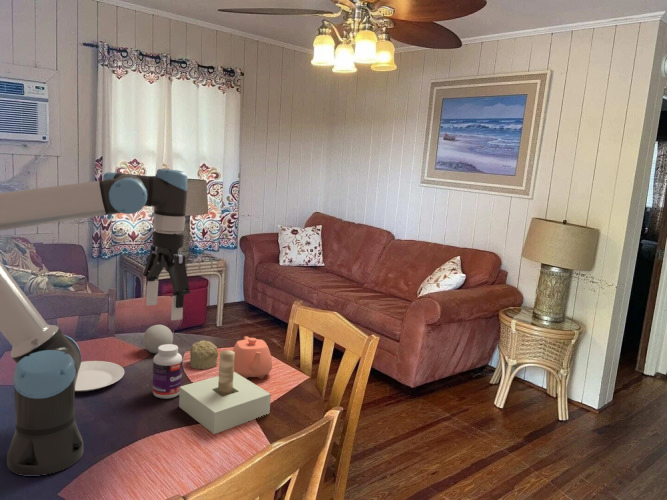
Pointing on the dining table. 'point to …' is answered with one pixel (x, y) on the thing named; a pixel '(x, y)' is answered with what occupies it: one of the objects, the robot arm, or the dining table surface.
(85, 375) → the plate
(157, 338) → the ball
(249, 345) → the teapot
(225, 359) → the dowel
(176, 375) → the pill bottle
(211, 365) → the decorative object
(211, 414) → the bore block
